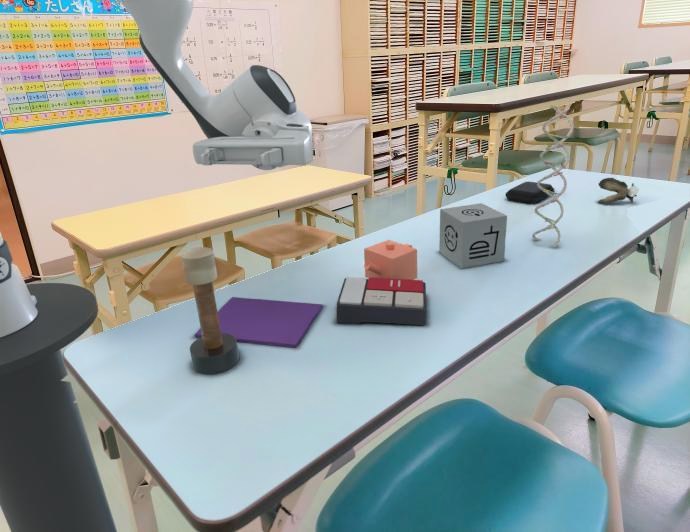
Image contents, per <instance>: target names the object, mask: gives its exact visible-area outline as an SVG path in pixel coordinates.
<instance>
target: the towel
mask: <svg viewBox="0 0 690 532" xmlns="http://www.w3.org/2000/svg"><path fill="white" fill-rule="evenodd" d="M322 309H323V304H322V303H314V302H313V303H312V302H301V301H299V302H298V301H287V300H274V299H273V300H272V299H262V298H251V297H250V298H249V297H238V296H237V297H236V296H233V297H231V298H230V299H229V300H228V301H227V302H225V304H224V305H223V306H222V307H221V308H220V309H218V310H217V312H218V318H219V324H220V330H221V333H227V334H230V335H233V336H234V337H235V338H236V340H237V343H238V342H239V343H249V344H255V345H256V344H258V345H267V346H277V347H285V348H286V347H287V348H297V347H298V346H299V344H300V342H301V341H302V340H303V338H304V337H305V336H306V334H307V332H308V330H309V329H310V327H311V326H312V324H313V323H314V321H315V320H316V318H317V317H318V315H319V313H320V312H321V310H322ZM200 337H202V333H201V328H199V329H198V330H197V331H196V333H195V334H194V338H200Z"/></svg>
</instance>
